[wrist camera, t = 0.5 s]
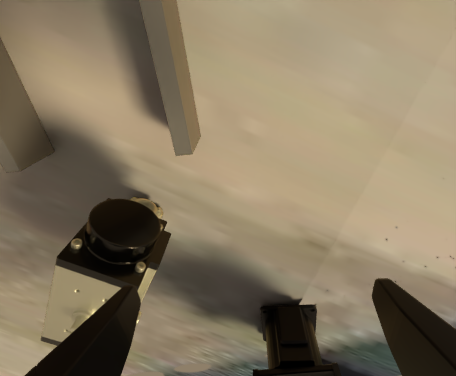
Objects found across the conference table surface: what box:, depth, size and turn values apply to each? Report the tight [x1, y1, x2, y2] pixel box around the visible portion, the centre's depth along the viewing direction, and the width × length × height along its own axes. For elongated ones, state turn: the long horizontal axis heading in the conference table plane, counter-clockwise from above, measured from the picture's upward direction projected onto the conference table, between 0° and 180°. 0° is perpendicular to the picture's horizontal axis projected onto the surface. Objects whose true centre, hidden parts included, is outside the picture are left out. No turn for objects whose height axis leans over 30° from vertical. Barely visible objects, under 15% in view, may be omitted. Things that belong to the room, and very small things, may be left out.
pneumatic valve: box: [41, 197, 171, 346], centre depth 21 cm, size 6×12×12 cm, turn 154°
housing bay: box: [0, 0, 201, 173], centre depth 17 cm, size 16×14×4 cm
